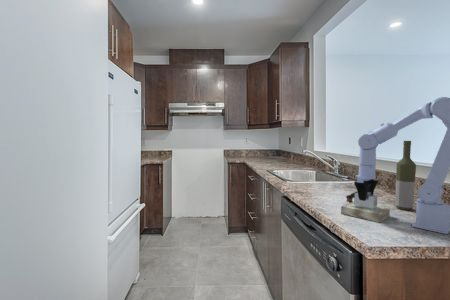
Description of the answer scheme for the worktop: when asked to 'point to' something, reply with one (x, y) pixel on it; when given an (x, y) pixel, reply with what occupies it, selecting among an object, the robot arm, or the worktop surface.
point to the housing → (369, 203)
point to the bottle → (405, 179)
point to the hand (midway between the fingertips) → (365, 199)
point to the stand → (366, 212)
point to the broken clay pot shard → (350, 197)
